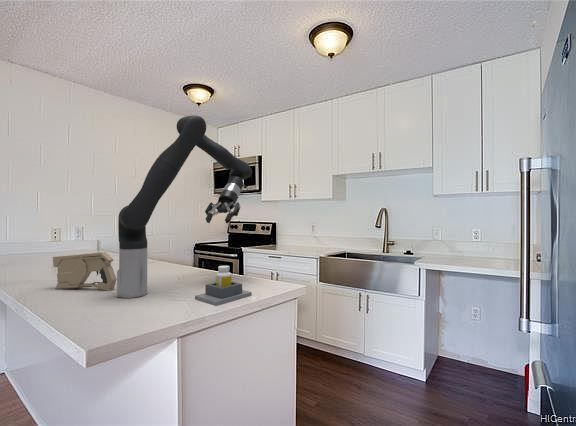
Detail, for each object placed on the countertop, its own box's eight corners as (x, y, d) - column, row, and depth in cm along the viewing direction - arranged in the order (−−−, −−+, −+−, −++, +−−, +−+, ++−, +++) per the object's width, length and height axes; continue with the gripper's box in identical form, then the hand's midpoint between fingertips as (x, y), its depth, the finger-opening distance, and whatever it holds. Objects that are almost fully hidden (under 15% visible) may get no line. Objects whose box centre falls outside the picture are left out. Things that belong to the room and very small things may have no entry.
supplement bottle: (234, 292, 110) (234, 265, 110) (226, 296, 105) (226, 268, 105) (221, 291, 112) (221, 264, 112) (213, 294, 107) (213, 267, 107)
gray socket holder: (216, 305, 98) (216, 291, 98) (194, 299, 106) (194, 285, 106) (251, 295, 111) (251, 282, 111) (230, 290, 118) (230, 278, 118)
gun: (118, 288, 119) (115, 251, 119) (112, 290, 116) (109, 252, 116) (61, 292, 122) (58, 255, 122) (54, 294, 118) (51, 256, 118)
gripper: (212, 189, 133) (197, 215, 121) (242, 188, 129) (229, 215, 118) (218, 201, 138) (204, 227, 127) (247, 201, 134) (235, 228, 123)
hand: (216, 221), depth 122 cm, fingers open, 8 cm apart
